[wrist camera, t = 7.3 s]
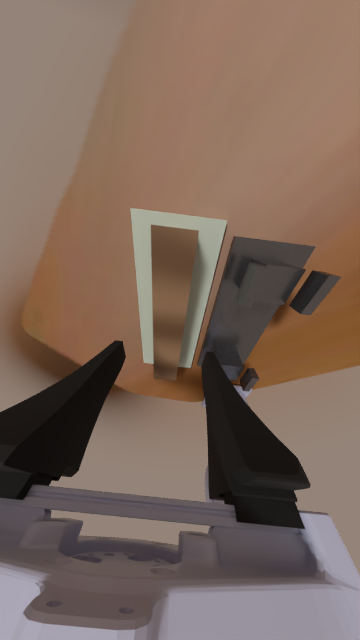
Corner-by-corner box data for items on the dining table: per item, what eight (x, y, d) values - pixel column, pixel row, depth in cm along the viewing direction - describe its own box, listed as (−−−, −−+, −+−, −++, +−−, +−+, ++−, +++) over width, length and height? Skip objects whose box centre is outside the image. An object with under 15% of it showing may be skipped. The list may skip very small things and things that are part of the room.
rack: (238, 367, 22) (249, 397, 18) (197, 362, 22) (199, 392, 18) (310, 246, 12) (373, 253, 8) (233, 236, 12) (257, 238, 8)
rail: (177, 362, 21) (175, 380, 19) (158, 360, 21) (153, 378, 19) (196, 231, 11) (199, 230, 8) (159, 226, 11) (150, 224, 8)
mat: (190, 365, 22) (190, 368, 22) (144, 360, 22) (143, 362, 22) (226, 220, 11) (227, 220, 11) (132, 208, 11) (130, 208, 10)
